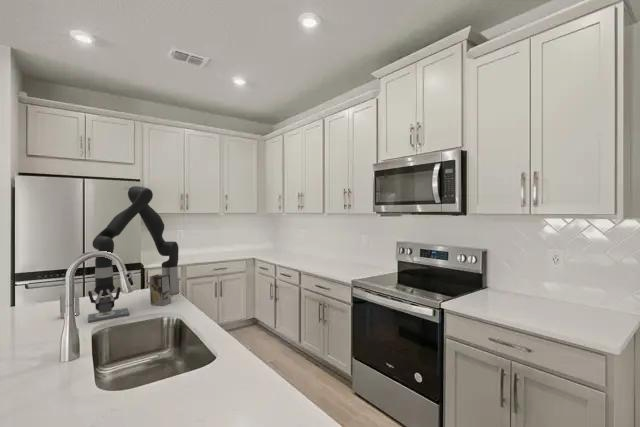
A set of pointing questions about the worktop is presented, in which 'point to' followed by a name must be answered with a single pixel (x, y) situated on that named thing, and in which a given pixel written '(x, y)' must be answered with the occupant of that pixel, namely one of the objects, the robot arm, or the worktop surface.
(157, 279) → the coffee box
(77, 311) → the milk bottle
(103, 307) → the knob
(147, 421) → the worktop surface
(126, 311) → the control panel
